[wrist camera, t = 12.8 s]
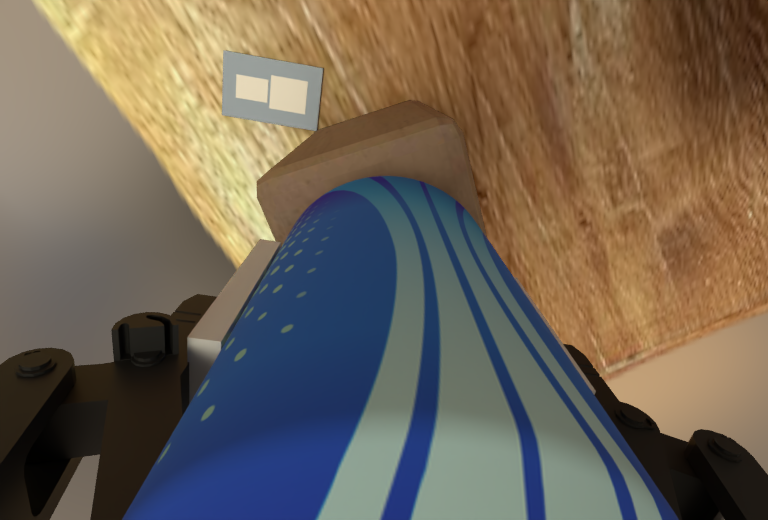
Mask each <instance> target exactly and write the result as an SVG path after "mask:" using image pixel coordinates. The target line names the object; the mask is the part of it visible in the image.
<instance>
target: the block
mask: <svg viewBox="0 0 768 520" xmlns="http://www.w3.org/2000/svg"><path fill="white" fill-rule="evenodd" d="M374 176H398V177H405V178H411V179H415V180H418V181H422V182H425V183H427V184H430V185H432V186H434V187H436V188H438V189H440V190H442V191H444V192H445V193H447V194H448V195H450V196H451V197H453V198H454V199H455V200H456V201H458V202H459V203H460V204H461V205H462V206H463V207H464V208H465V209H466V210H467V211H468V212H469V214H470V215H471V216H472V217H473V219H474V220H475V221H476V223H477V224H478V226H479V227H480V229H481V230H482V232H483V233H484V235H485V236H486V238H487V235H486V231H485V227H484V222H483V218H482V213H481V209H480V205H479V200H478V196H477V192H476V187H475V183H474V178H473V174H472V170H471V165H470V161H469V157H468V152H467V148H466V143H465V139H464V135H463V132H462V131H461V129H460V128H459V127H458V125H457V124H456V122H455V121H454V120H453V119H452V118H450V117H448V116H446V115H444V114H442V113H440V112H438V111H436V110H434V109H432V108H430V107H429V106H427V105H425V104H423V103H421V102H419V101H411V100H408V101H405V102H402V103H399V104H396V105H393V106H390V107H387V108H384V109H381V110H378V111H375V112H372V113H369V114H366V115H362V116H359V117H356V118H353V119H350V120H347V121H344V122H341V123H338V124H335V125H332V126H329V127H326V128H323V129H320V130H317V131H316V132H315V133H314V134H313V135H311V136H310V137H309V138H308V139H307V140H305V141H304V142H303V143H302V144H300V145H299V146H298V147H297V148H296V149H294V150H293V151H292V152H291V153H290V154H288V155H287V156H286V157H285V158H283V159H282V160H281V161H280V162H279V163H277V164H276V165H275V166H274V167H273V168H271V169H270V170H269V171H268V172H267V173H266V174H264V175H263V176H262V177H261V178H260V179H259V180H258V181H257V199H258V201H259V203H260V205H261V208H262V210H263V212H264V215H265V217H266V219H267V222H268V224H269V226H270V229H271V231H272V233H273V236H274V238H275V240H276V242H281V247H282V245H283V243H284V242H285V240H286V238H287V236H288V235H289V233H290V231H291V230H292V228H293V226H294V225H295V223H296V221H297V220H298V219H299V217H300V216H301V215H302V213H303V212H304V211H305V210H306V209H307V208H308V207H309V206H310V205H311V204H312V203H314V202H315V201H316V200H317V199H318V198H320V197H321V196H323V195H324V194H325V193H327V192H329V191H331V190H332V189H334V188H336V187H338V186H340V185H343V184H345V183H348V182H351V181H354V180H357V179H362V178H367V177H374ZM281 247H280V248H281Z"/></svg>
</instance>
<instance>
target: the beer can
mask: <svg viewBox="0 0 768 520" xmlns="http://www.w3.org/2000/svg"><path fill="white" fill-rule="evenodd" d="M122 520H679V519H678V517H677V516H676V514H675V513H674V511H673V510H672V508H671V507H670V505H669V504H668V502H667V501H666V499H665V498H664V496H663V495H662V493H661V492H660V491H659V489H658V488H657V486H656V485H655V483H654V482H653V480H652V479H651V477H650V476H649V474H648V473H647V472H646V470H645V469H644V467H643V466H642V464H641V463H640V461H639V460H638V458H637V457H636V455H635V454H634V452H633V451H632V450H631V448H630V447H629V445H628V444H627V442H626V441H625V439H624V438H623V436H622V435H621V433H620V432H619V431H618V429H617V428H616V426H615V425H614V423H613V422H612V420H611V419H610V417H609V416H608V414H607V413H606V412H605V410H604V409H603V407H602V406H601V404H600V403H599V401H598V400H597V398H596V397H595V395H594V394H593V393H592V391H591V390H590V388H589V387H588V385H587V384H586V382H585V381H584V379H583V378H582V376H581V375H580V374H579V372H578V371H577V369H576V368H575V366H574V365H573V363H572V362H571V360H570V359H569V357H568V356H567V355H566V353H565V352H564V350H563V349H562V347H561V346H560V344H559V343H558V341H557V340H556V338H555V337H554V336H553V334H552V333H551V331H550V330H549V328H548V327H547V325H546V324H545V322H544V321H543V319H542V318H541V317H540V315H539V314H538V312H537V311H536V309H535V308H534V306H533V305H532V303H531V302H530V300H529V299H528V298H527V296H526V295H525V293H524V292H523V290H522V289H521V287H520V286H519V284H518V283H517V281H516V280H515V278H514V277H513V276H512V274H511V273H510V271H509V270H508V268H507V267H506V265H505V264H504V262H503V261H502V259H501V258H500V257H499V255H498V254H497V252H496V251H495V249H494V248H493V246H492V245H491V243H490V242H489V240H488V239H487V238H486V236H485V235H484V233H483V232H482V230H481V229H480V227H479V226H478V224H477V223H476V221H475V220H474V219H473V217H472V216H471V215H470V214H469V212H468V211H467V210H466V209H465V208H464V207H463V206H462V205H461V204H460V203H459V202H458V201H456V200H455V199H454V198H453V197H451V196H450V195H448V194H447V193H445V192H444V191H442V190H440V189H438V188H436V187H434V186H432V185H430V184H427V183H425V182H422V181H418V180H415V179H411V178H405V177H398V176H374V177H367V178H362V179H357V180H354V181H351V182H348V183H345V184H343V185H340V186H338V187H336V188H334V189H332V190H331V191H329V192H327V193H325V194H324V195H323V196H321V197H320V198H318V199H317V200H316V201H315V202H314V203H312V204H311V205H310V206H309V207H308V208H307V209H306V210H305V211H304V212H303V213H302V215H301V216H300V217H299V219H298V220H297V221H296V223H295V225H294V226H293V228H292V230H291V231H290V233H289V235H288V236H287V238H286V240H285V242H284V243H283V245H282V247H281V248H280V250H279V252H278V254H277V255H276V257H275V259H274V260H273V262H272V264H271V266H270V267H269V269H268V271H267V272H266V274H265V276H264V278H263V279H262V281H261V283H260V284H259V286H258V288H257V290H256V291H255V293H254V295H253V296H252V298H251V300H250V301H249V303H248V305H247V307H246V308H245V310H244V312H243V313H242V315H241V317H240V319H239V320H238V322H237V324H236V325H235V327H234V329H233V331H232V332H231V334H230V336H229V337H228V339H227V341H226V343H225V344H224V346H223V348H222V349H221V351H220V353H219V355H218V356H217V358H216V360H215V361H214V363H213V365H212V366H211V368H210V370H209V372H208V373H207V375H206V377H205V378H204V380H203V382H202V384H201V385H200V387H199V389H198V390H197V392H196V394H195V396H194V397H193V399H192V401H191V402H190V404H189V406H188V408H187V409H186V411H185V413H184V414H183V416H182V418H181V420H180V421H179V423H178V425H177V426H176V428H175V430H174V431H173V433H172V435H171V437H170V438H169V440H168V442H167V443H166V445H165V447H164V449H163V450H162V452H161V454H160V455H159V457H158V459H157V461H156V462H155V464H154V466H153V467H152V469H151V471H150V473H149V474H148V476H147V478H146V479H145V481H144V483H143V485H142V486H141V488H140V490H139V491H138V493H137V495H136V497H135V498H134V500H133V502H132V503H131V505H130V507H129V508H128V510H127V512H126V514H125V515H124V517H123V519H122Z"/></svg>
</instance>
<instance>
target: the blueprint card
mask: <svg viewBox="0 0 768 520" xmlns="http://www.w3.org/2000/svg"><path fill="white" fill-rule="evenodd" d="M323 69H324V68H318V67H313V66H307V65H302V64H296V63H291V62H285V61H280V60H274V59H269V58H263V57H257V56H252V55H246V54H241V53H235V52H230V51H224V54H223V97H222V115H225V116H230V117H236V118H242V119H248V120H254V121H260V122H266V123H272V124H278V125H284V126H289V127H295V128H301V129H307V130H313V131H317V127H318V117H319V108H320V98H321V89H322V79H323Z"/></svg>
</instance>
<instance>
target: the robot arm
mask: <svg viewBox="0 0 768 520" xmlns="http://www.w3.org/2000/svg"><path fill="white" fill-rule="evenodd" d="M280 247H281V242H275V241H269V240H262V239H260V240H259V241H258V243H257V244H256V246H255V247H254V248H253V250H252V251H251V252H250V254H249V255H248V256H247V258H246V259H245V260H244V262H243V263H242V264H241V266H240V267H239V268H238V270H237V271H236V272H235V274H234V275H233V276H232V278H231V279H230V281H229V282H228V283H227V285H226V286H225V287H224V289H223V290H222V291H221V293H220V294H219V296H218V297H214V296H207V295H200V294H197V295H195V296H193V297H191V298H189V299H187V300H185V301H183V302H182V304H181V305H180V306H179V307H178V308H177V309H176V311H175V312H173V314H172V315H171V316H170V315H167V314H163V313H158V312H157V313H155V312H145V313H139V314H133V315H131V316H128V317H125V318H123V319H121V320H120V321H118V322H117V323H115V325H114V326H113V328H112V342H113V354H114V362H112V363H105V364H95V365H81V366H75V364H74V359H73V357H72V355H71V353H69V352H67V351H65V350H63V349H56V348H42V349H34V350H29V351H26V352H22V353H20V354H18V355H15V356H13V357H11V358H9V359H7V360H6V361H5V362H3V363H2V364H1V365H0V520H50V518H51V516H52V514H53V512H54V510H55V508H56V507H57V505H58V503H59V501H60V499H61V497H62V495H63V493H64V492H65V490H66V488H67V486H68V484H69V482H70V480H71V478H72V476H73V475H74V473H75V471H76V469H77V467H78V465H79V463H80V461H81V459H82V458H83V457H84V456H92V455H98V454H100V459H99V466H98V473H97V479H96V486H95V493H94V500H93V507H92V514H91V520H122V519H123V517H124V515H125V514H126V512H127V510H128V508H129V507H130V505H131V503H132V502H133V500H134V498H135V497H136V495H137V493H138V491H139V490H140V488H141V486H142V485H143V483H144V481H145V479H146V478H147V476H148V474H149V473H150V471H151V469H152V467H153V466H154V464H155V462H156V461H157V459H158V457H159V455H160V454H161V452H162V450H163V449H164V447H165V445H166V443H167V442H168V440H169V438H170V437H171V435H172V433H173V431H174V430H175V428H176V426H177V425H178V423H179V421H180V420H181V418H182V416H183V414H184V413H185V411H186V409H187V408H188V406H189V404H190V402H191V401H192V399H193V397H194V396H195V394H196V392H197V390H198V389H199V387H200V385H201V384H202V382H203V380H204V378H205V377H206V375H207V373H208V372H209V370H210V368H211V366H212V365H213V363H214V361H215V360H216V358H217V356H218V355H219V353H220V351H221V349H222V348H223V346H224V344H225V343H226V341H227V339H228V337H229V336H230V334H231V332H232V331H233V329H234V327H235V325H236V324H237V322H238V320H239V319H240V317H241V315H242V313H243V312H244V310H245V308H246V307H247V305H248V303H249V301H250V300H251V298H252V296H253V295H254V293H255V291H256V290H257V288H258V286H259V284H260V283H261V281H262V279H263V278H264V276H265V274H266V272H267V271H268V269H269V267H270V266H271V264H272V262H273V260H274V259H275V257H276V255H277V254H278V252H279V250H280ZM514 278H515V277H514ZM515 280H516V281H517V283H518V284H519V286H520V287H521V289H522V290H523V292H524V293H525V295H526V296H527V298H528V299H529V300H530V302H531V303H532V305H533V306H534V308H535V309H536V311H537V312H538V314H539V315H540V317H541V318H542V319H543V321H544V322H545V324H546V325H547V327H548V328H549V330H550V331H551V333H552V334H553V336H554V337H555V338H556V340H557V341H558V343H559V344H560V346H561V347H562V349H563V350H564V352H565V353H566V355H567V356H568V357H569V359H570V360H571V362H572V363H573V365H574V366H575V368H576V369H577V371H578V372H579V374H580V375H581V376H582V378H583V379H584V381H585V382H586V384H587V385H588V387H589V388H590V390H591V391H592V393H593V394H594V395H595V397H596V398H597V400H598V401H599V403H600V404H601V406H602V407H603V409H604V410H605V412H606V413H607V414H608V416H609V417H610V419H611V420H612V422H613V423H614V425H615V426H616V428H617V429H618V431H619V432H620V433H621V435H622V436H623V438H624V439H625V441H626V442H627V444H628V445H629V447H630V448H631V450H632V451H633V452H634V454H635V455H636V457H637V458H638V460H639V461H640V463H641V464H642V466H643V467H644V469H645V470H646V472H647V473H648V474H649V476H650V477H651V479H652V480H653V482H654V483H655V485H656V486H657V488H658V489H659V491H660V492H661V493H662V495H663V496H664V498H665V499H666V501H667V502H668V504H669V505H670V507H671V508H672V510H673V511H674V513H675V514H676V516H677V517H678V519H679V520H724V519H725V520H768V475H767V473H766V472H765V471H764V470H763V468H762V467H761V466H760V465H759V464H758V462H757V461H756V460H755V458H754V457H753V456H752V455H750V453H749V452H748V451H747V450H746V449H745V448H743V447H742V446H740V445H739V444H738V443H736V441H734V440H733V439H731V438H727V436H724V435H723V434H719V433H716V432H713V431H710V430H702V429H701V430H697V431H695V432H694V433H693V435H692V437H691V439H690V440H689V442H686V441H683V440H680V439H677V438H674V437H671V436H668V435H665V434H662V433H660V430H659V428H658V426H657V424H656V423H655V422H654V421H653V420H652V419H651V418H650V417H649V416H648V415H647V414H646V413H644V412H643V411H641V410H639V409H638V408H636V407H634V406H631V405H629V404H627V403H623V402H619V400H618V399H617V398H616V396H615V395H614V393H613V392H612V391H611V389H610V388H609V387H608V385H607V384H606V383H605V381H604V380H603V379H602V377H599V373H598V372H597V371H596V369H595V368H593V365H592V364H591V363H590V361H589V360H588V359H587V357H586V356H585V355H584V354H583V353H581V352H580V351H579V350H577V349H576V348H575V347H574V346H572V345H566V344H563V343H562V342H561V340H560V339H559V338H558V336H557V335H556V333H555V332H554V330H553V329H552V328H551V326H550V325H549V323H548V322H547V320H546V319H545V317H544V316H543V315H542V313H541V312H540V310H539V309H538V307H537V306H536V305H535V303H534V302H533V300H532V299H531V297H530V296H529V295H528V293H527V292H526V290H525V289H524V287H523V286H522V285H521V283H520V282H519V280H518V279H517V278H515Z"/></svg>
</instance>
